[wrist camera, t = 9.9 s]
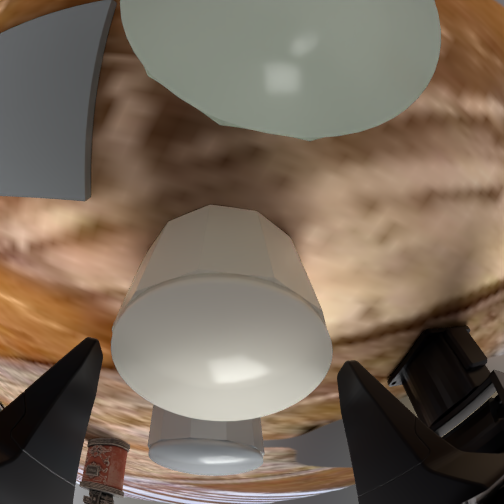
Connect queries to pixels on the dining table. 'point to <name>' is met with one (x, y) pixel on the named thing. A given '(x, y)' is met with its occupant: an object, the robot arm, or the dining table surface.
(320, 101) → the sage cup
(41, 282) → the dining table surface
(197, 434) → the light grey cylinder
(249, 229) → the cream cup
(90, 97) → the slate coaster
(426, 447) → the robot arm
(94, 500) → the lighter
